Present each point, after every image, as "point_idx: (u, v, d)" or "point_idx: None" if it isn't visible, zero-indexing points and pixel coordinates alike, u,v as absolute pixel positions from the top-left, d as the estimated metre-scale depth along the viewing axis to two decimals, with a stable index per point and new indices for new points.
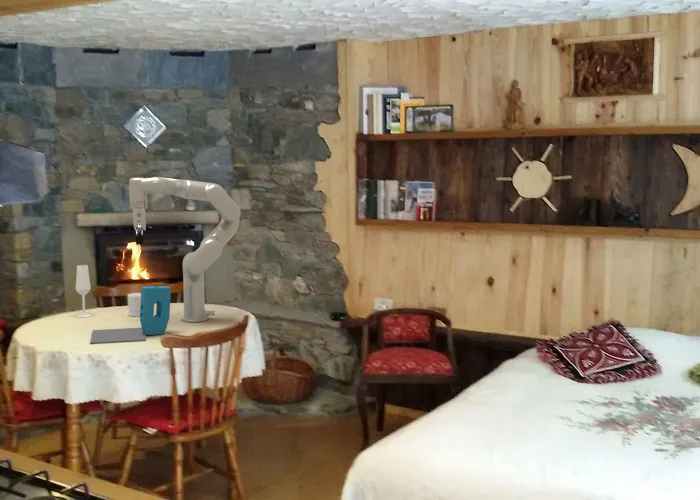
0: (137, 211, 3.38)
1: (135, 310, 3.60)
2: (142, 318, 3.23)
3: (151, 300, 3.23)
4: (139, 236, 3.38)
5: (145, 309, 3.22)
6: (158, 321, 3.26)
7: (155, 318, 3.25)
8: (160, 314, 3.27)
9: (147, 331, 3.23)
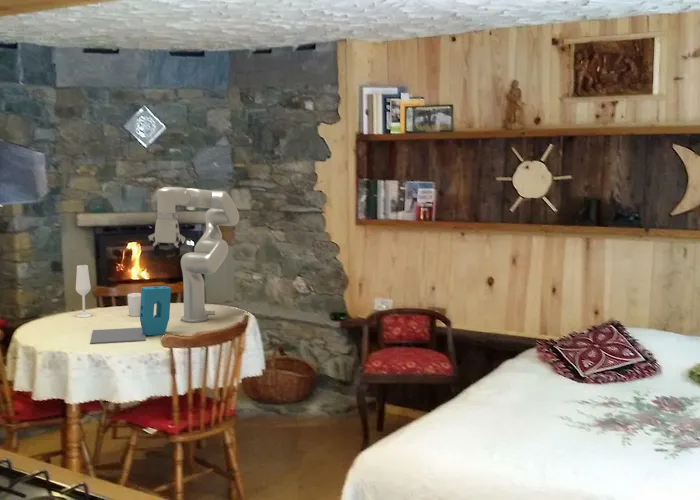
0: (175, 222, 3.30)
1: (135, 310, 3.60)
2: (142, 319, 3.22)
3: (151, 301, 3.22)
4: (179, 248, 3.31)
5: (145, 310, 3.21)
6: (158, 321, 3.25)
7: (155, 319, 3.24)
8: (160, 314, 3.27)
9: (147, 332, 3.23)
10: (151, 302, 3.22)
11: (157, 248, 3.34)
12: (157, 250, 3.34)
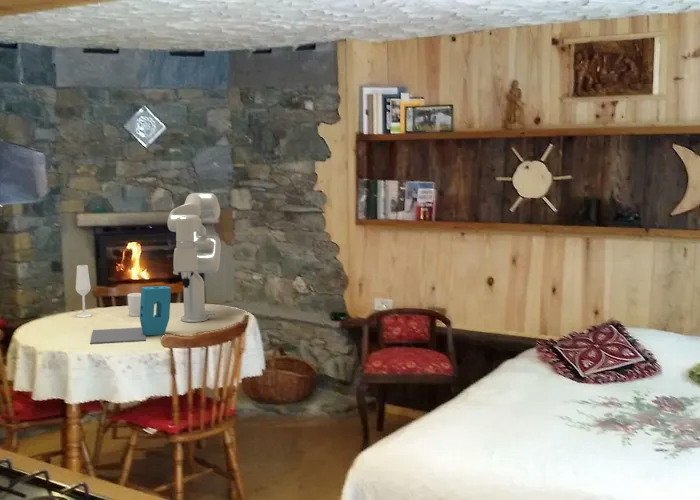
0: (196, 250, 3.27)
1: (135, 310, 3.60)
2: (142, 319, 3.22)
3: (151, 301, 3.22)
4: None
5: (145, 310, 3.21)
6: (158, 321, 3.25)
7: (155, 319, 3.24)
8: (160, 314, 3.26)
9: (147, 332, 3.23)
10: (151, 302, 3.22)
11: None
12: None
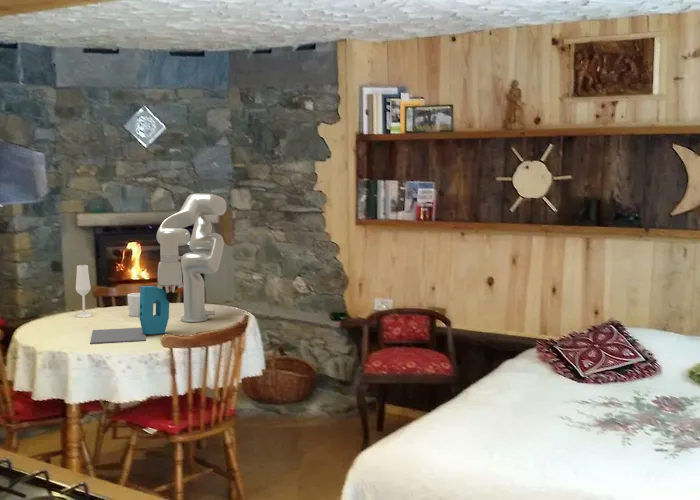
0: (180, 264, 3.26)
1: (135, 310, 3.60)
2: (142, 317, 3.23)
3: (150, 299, 3.23)
4: (173, 292, 3.27)
5: (144, 308, 3.22)
6: (158, 320, 3.26)
7: (155, 317, 3.25)
8: (159, 313, 3.27)
9: (147, 330, 3.23)
10: (150, 300, 3.24)
11: (170, 294, 3.27)
12: (170, 296, 3.27)
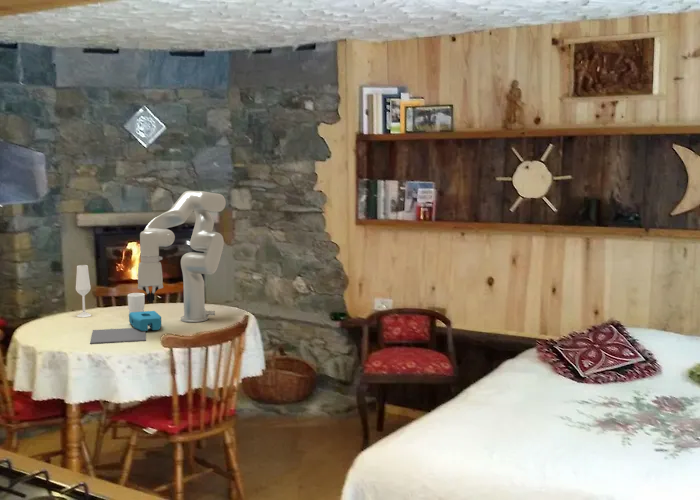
0: (160, 265, 3.24)
1: (135, 310, 3.60)
2: (133, 320, 3.34)
3: (137, 313, 3.42)
4: None
5: (133, 316, 3.38)
6: (149, 316, 3.35)
7: (145, 316, 3.36)
8: None
9: (139, 319, 3.30)
10: (137, 314, 3.42)
11: None
12: None
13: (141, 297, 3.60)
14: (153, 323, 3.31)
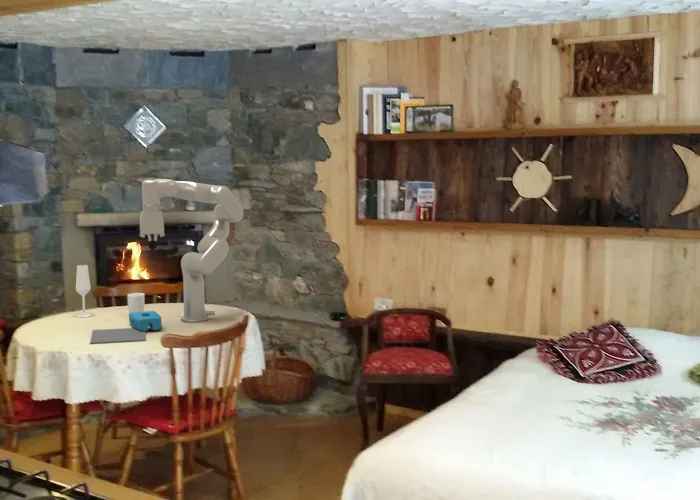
0: None
1: (135, 310, 3.60)
2: (133, 321, 3.34)
3: (136, 314, 3.42)
4: (155, 241, 3.35)
5: (133, 316, 3.38)
6: (149, 316, 3.35)
7: (145, 316, 3.36)
8: None
9: (139, 319, 3.30)
10: (137, 314, 3.42)
11: None
12: None
13: (141, 297, 3.60)
14: (153, 323, 3.31)
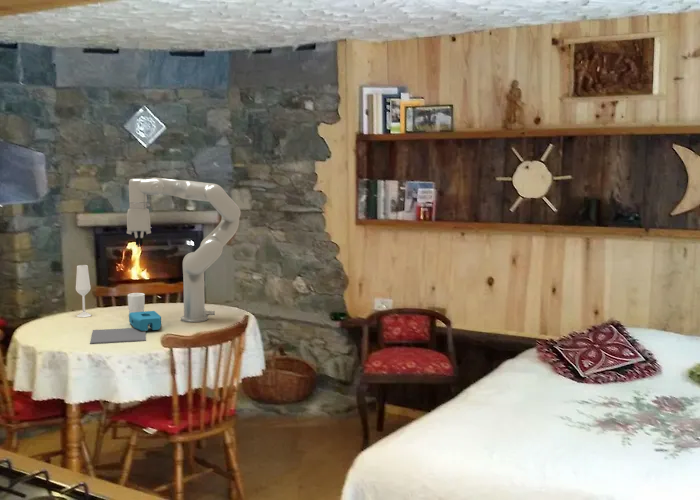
0: (148, 211, 3.43)
1: (135, 310, 3.60)
2: (133, 321, 3.34)
3: (136, 314, 3.42)
4: (142, 238, 3.44)
5: (133, 316, 3.38)
6: (149, 316, 3.35)
7: (145, 316, 3.36)
8: None
9: (139, 319, 3.30)
10: (137, 314, 3.42)
11: None
12: None
13: (141, 297, 3.60)
14: (153, 323, 3.31)
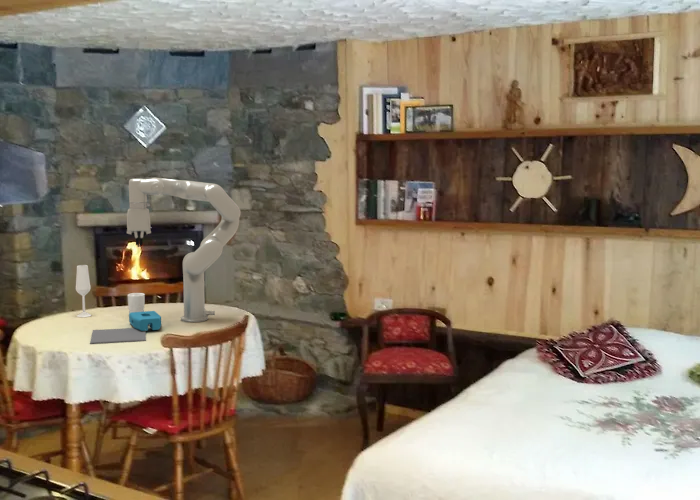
0: (148, 211, 3.43)
1: (135, 310, 3.60)
2: (133, 321, 3.34)
3: (136, 314, 3.42)
4: (142, 238, 3.44)
5: (133, 316, 3.38)
6: (149, 316, 3.35)
7: (145, 316, 3.36)
8: None
9: (139, 319, 3.30)
10: (137, 314, 3.42)
11: None
12: None
13: (141, 297, 3.60)
14: (153, 323, 3.31)
